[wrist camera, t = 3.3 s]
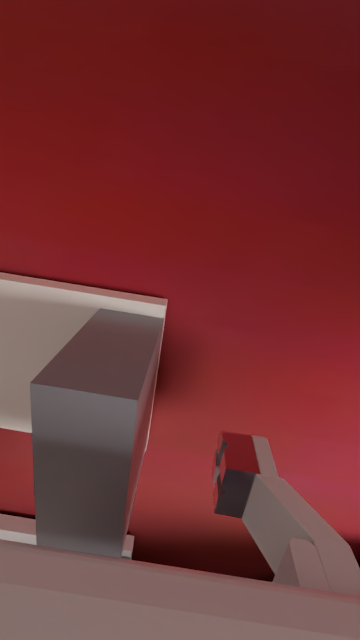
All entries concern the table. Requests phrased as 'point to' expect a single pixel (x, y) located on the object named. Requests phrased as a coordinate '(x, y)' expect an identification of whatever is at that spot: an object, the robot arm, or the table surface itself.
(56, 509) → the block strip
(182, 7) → the table surface
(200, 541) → the table surface
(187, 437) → the table surface
